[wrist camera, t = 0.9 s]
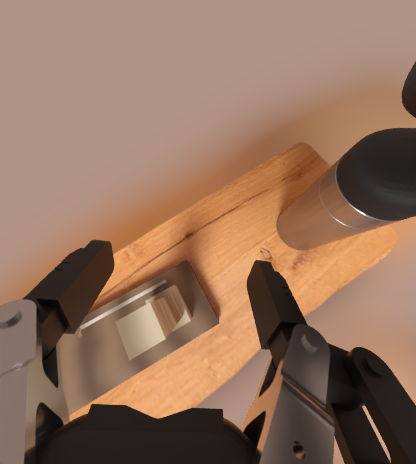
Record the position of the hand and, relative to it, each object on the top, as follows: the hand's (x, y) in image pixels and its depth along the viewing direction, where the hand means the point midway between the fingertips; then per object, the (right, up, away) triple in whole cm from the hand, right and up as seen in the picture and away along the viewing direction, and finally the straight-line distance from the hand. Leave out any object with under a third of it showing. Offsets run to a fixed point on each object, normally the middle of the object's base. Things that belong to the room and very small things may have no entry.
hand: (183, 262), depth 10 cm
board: (-11, -15, +21) cm, 28 cm away
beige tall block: (-5, -11, +20) cm, 23 cm away
